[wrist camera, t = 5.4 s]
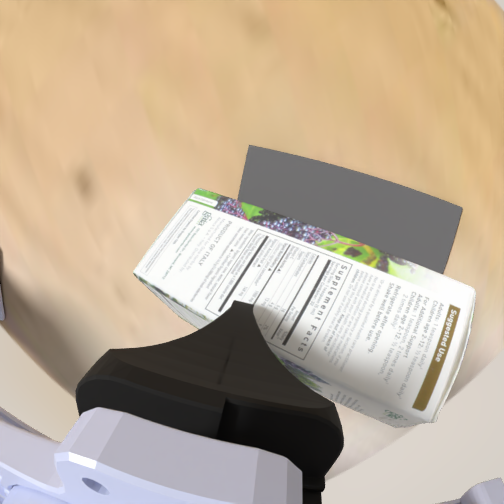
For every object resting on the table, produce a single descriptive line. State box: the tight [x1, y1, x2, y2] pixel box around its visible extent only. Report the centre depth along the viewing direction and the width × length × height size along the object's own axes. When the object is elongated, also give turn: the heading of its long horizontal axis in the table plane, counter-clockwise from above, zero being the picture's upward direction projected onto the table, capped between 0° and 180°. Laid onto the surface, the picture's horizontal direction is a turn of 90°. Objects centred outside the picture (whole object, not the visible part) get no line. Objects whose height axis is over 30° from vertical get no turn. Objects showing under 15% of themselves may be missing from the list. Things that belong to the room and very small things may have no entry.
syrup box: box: [133, 188, 476, 428], centre depth 14 cm, size 6×6×14 cm
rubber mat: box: [238, 145, 462, 274], centre depth 21 cm, size 16×14×1 cm
